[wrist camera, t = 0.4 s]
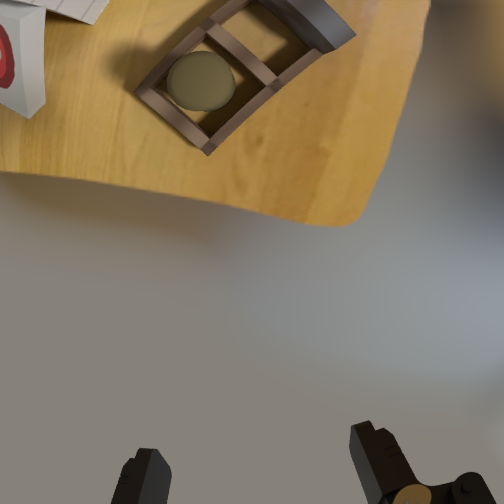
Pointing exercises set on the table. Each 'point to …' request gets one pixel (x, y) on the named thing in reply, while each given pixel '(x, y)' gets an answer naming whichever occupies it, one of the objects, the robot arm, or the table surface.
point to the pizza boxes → (32, 47)
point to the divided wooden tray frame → (247, 60)
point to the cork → (201, 82)
